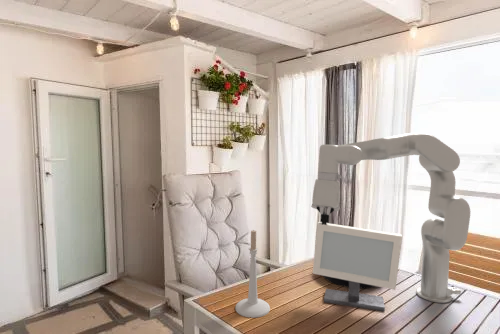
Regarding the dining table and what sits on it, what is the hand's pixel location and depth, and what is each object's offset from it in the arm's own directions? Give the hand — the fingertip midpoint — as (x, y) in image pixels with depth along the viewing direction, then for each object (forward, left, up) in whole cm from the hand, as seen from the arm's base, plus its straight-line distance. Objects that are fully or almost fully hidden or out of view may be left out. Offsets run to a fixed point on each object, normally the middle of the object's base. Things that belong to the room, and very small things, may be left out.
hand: (324, 224), depth 128 cm
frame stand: (-12, -1, -31) cm, 33 cm away
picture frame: (-11, +2, -21) cm, 23 cm away
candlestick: (+26, +10, -31) cm, 42 cm away
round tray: (-16, -27, -31) cm, 44 cm away
